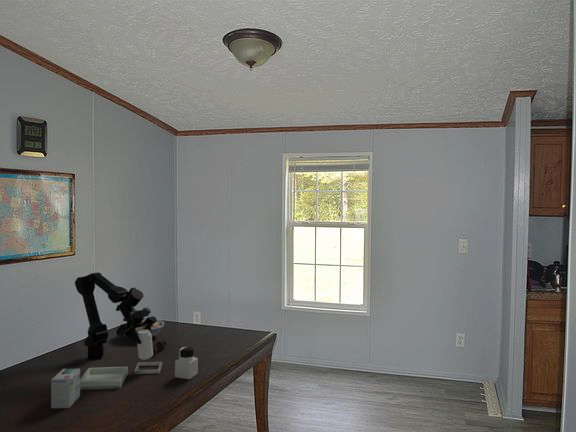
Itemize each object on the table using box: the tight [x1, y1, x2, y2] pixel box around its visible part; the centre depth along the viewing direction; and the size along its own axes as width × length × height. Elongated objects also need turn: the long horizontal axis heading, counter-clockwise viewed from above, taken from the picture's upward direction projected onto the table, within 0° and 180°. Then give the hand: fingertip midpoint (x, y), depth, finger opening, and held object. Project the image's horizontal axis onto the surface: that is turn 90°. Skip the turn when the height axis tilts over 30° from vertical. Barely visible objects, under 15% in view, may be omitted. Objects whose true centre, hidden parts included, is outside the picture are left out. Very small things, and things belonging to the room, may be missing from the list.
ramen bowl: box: [122, 318, 165, 337], centre depth 254 cm, size 25×23×8 cm
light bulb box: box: [50, 368, 81, 409], centre depth 171 cm, size 11×7×11 cm, turn 5°
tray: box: [80, 366, 129, 391], centre depth 192 cm, size 16×16×3 cm
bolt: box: [151, 340, 167, 358], centre depth 231 cm, size 6×5×15 cm
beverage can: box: [136, 329, 154, 361], centre depth 204 cm, size 6×6×12 cm
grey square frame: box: [133, 361, 163, 375], centre depth 206 cm, size 11×11×2 cm
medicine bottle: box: [174, 346, 199, 380], centre depth 199 cm, size 7×7×12 cm
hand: (146, 341), depth 203 cm, fingers closed on beverage can, 6 cm apart
